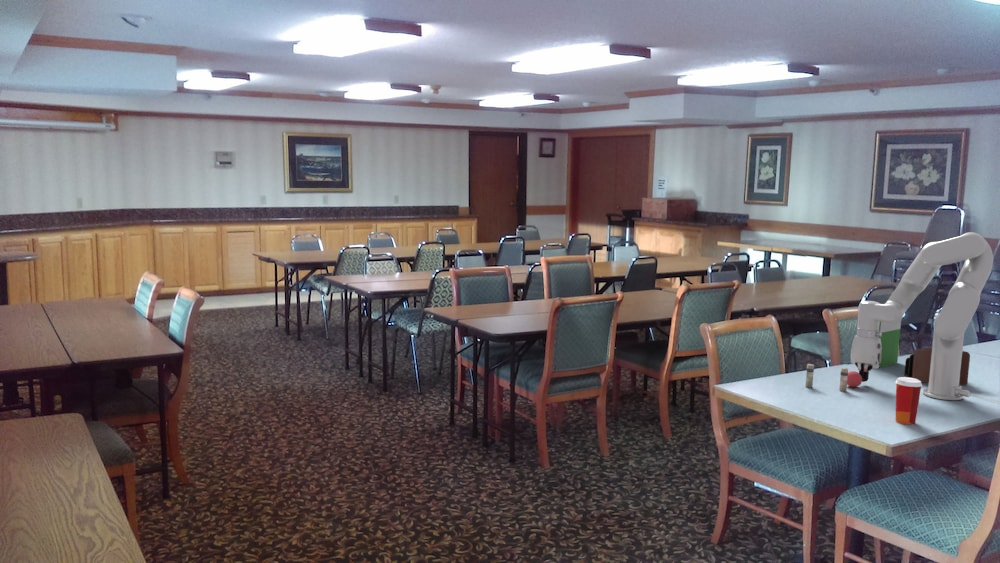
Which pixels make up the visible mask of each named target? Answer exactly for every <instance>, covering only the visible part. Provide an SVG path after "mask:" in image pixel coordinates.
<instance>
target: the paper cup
mask: <svg viewBox="0 0 1000 563" xmlns="http://www.w3.org/2000/svg"><path fill="white" fill-rule="evenodd" d="M895 385H896V386H895V422H896V423H898V424H902V425H907V426H908V425H909V426H910V425H915V423H916V420H917V414H918V407H919V402H920V395H921V389H922V387H923V384H922V383H921V381H920V380H918V379H915V378H908V377H905V376H900V377H897V378H896V380H895Z"/></svg>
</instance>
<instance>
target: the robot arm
mask: <svg viewBox="0 0 1000 563" xmlns="http://www.w3.org/2000/svg"><path fill="white" fill-rule="evenodd" d="M962 261H964V263H963V266H962V268H961V270H960V271H959V274H958V277H957V278H956V280H955V282H954V284H953V285H952V287H951V288H950V289H949V291H948V294H947V297H946V300H945V302H944V303H943V305H942V308H941V310H940V311H939V313H938V314H936V315H935V319H934V322H933V335H932V344H931V345H932V347H931V348H932V354H931V364H930V375H929V383H928V384H927V385H928V386H927V388H924V389H923V390H922V394H924V396H926V397H929V398H933V399H937V400H943V401H944V400H945V401H959V400H963V397H966V398H970V397H971V392H970V390H966V389H965V390H964V389H963V386H961V385H959V379H960V369H961V359H962V351H964V350H963V349H964V341H965V340H964V337H965V332H966V331H967V328H968V326H969V325H970V322H972V319H973V317H974V315H975V313H976V311H977V309H978V307H979V304H980V301H981V293H982V291H983V289H984V287H985V285H986V284H987V281H988V279H989V277H990V273H991V272H992V269H993V265H994V253H993V250H992V248H991V245H990V244H989V243H988V241H987V240H986V239H985V238H984V236H982V235H981V234H979V233H977V232H973V231H970V232H965V233H963V234H962V235H960V236H956V237H952V238H949V239H944V240H939V241H930V242H927V243H926V244H924V246H923V247H922V249H920V251H919V252H918V254H917V255H916V257H915V259H914V260H913V261H912V262H911V264H910V266H909V267H908V268H907V269H906V271H905V272H904V273H903V276H902V277H901V279H900V281H899V283H898V285H897V286H896V287H895V289H894V291H893V292H892V293H891V295H890V296H889V298H888V299H887V301H886V302H885V303H881V302H878V301H875V300H862V301H860V302H859V304H858V312H857V313H858V314H857V326H856V334H855V335H854V337H853V340H852V343H851V344H852V345H851V350H850V363H851V364H852V365H855V366H856V368H857V370H858V373H859V374H860V375H861V377H862V382H864V383H865V382H868V380H869V375H870V372H871V370H873V369H880V368H879V364H880V363H881V357H882V348H881V339H880V338H878V337H879V336H880V337H881V336H882V333H880V332H879V325H880V322H883V323H888V324H896V323H898V322H900V321H901V322H902V319H903V318H904V315H905V314H906V312H907V310H908V309H909V308H910V307H911V305H912V304H913V302H914V301H915V299H916V298H917V297H918V296H919V295H920V294H921V293H922V292H923V291H925V289H926V288H927V286H928V285H929V283H931V281H932V280H933V278H934V277H935V275H936V274H937V272H939V270H940V269H941V268H942V266H946V265H951V264H955V263H959V262H962ZM862 382H861V383H862Z"/></svg>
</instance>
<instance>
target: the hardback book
mask: <svg viewBox="0 0 1000 563" xmlns="http://www.w3.org/2000/svg"><path fill="white" fill-rule="evenodd" d="M901 326H902V320H901V321H900V322H898V323H896V324H888V323H883V322H880V325H879V332H880V333H882V336H881V337H880V336H879V337H878V338H880V339H881V348H882V357H881V363H880V364H879V367H880V368H883V367H882V366H884V367H886V365H888V366H890V364H891V365H894V364H893V363H895V364H898V360H899V347H900V338H901Z"/></svg>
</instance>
